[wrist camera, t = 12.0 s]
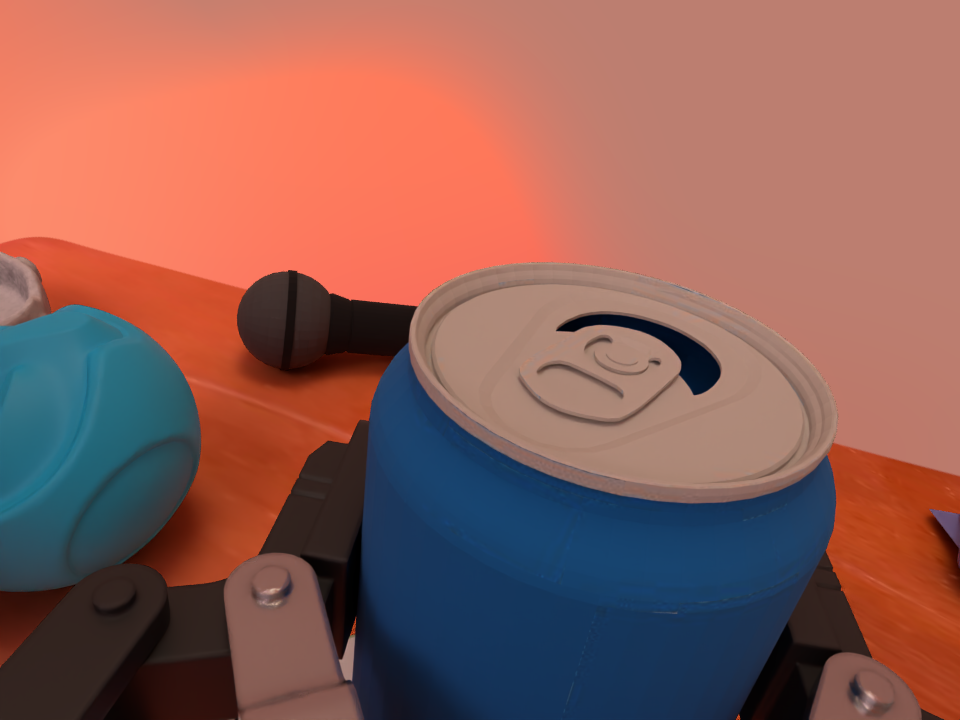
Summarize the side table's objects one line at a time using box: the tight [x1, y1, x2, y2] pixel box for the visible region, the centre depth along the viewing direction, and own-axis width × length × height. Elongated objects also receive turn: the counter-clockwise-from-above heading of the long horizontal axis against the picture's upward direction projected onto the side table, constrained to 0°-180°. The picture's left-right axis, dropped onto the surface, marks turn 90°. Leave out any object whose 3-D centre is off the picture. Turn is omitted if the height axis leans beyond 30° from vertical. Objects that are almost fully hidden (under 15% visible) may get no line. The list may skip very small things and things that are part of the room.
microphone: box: [237, 270, 418, 370], centre depth 49 cm, size 7×7×20 cm
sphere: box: [0, 304, 201, 592], centre depth 30 cm, size 12×11×12 cm
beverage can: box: [352, 262, 838, 720], centre depth 12 cm, size 6×6×12 cm
